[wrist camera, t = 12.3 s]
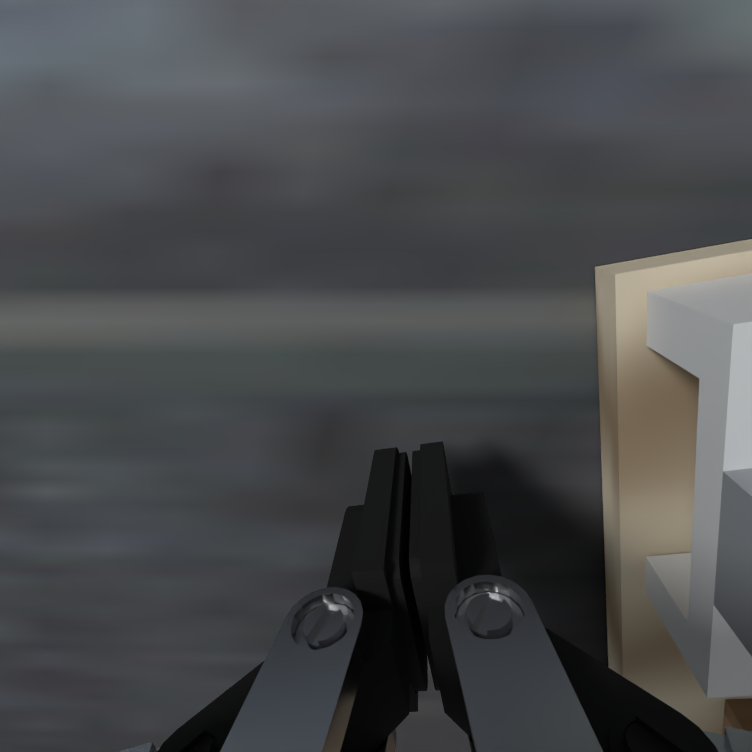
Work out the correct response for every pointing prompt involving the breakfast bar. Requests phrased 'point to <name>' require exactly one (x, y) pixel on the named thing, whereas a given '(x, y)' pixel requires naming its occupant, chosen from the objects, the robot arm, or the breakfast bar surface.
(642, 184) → the breakfast bar surface
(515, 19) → the breakfast bar surface
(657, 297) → the cover
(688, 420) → the board
